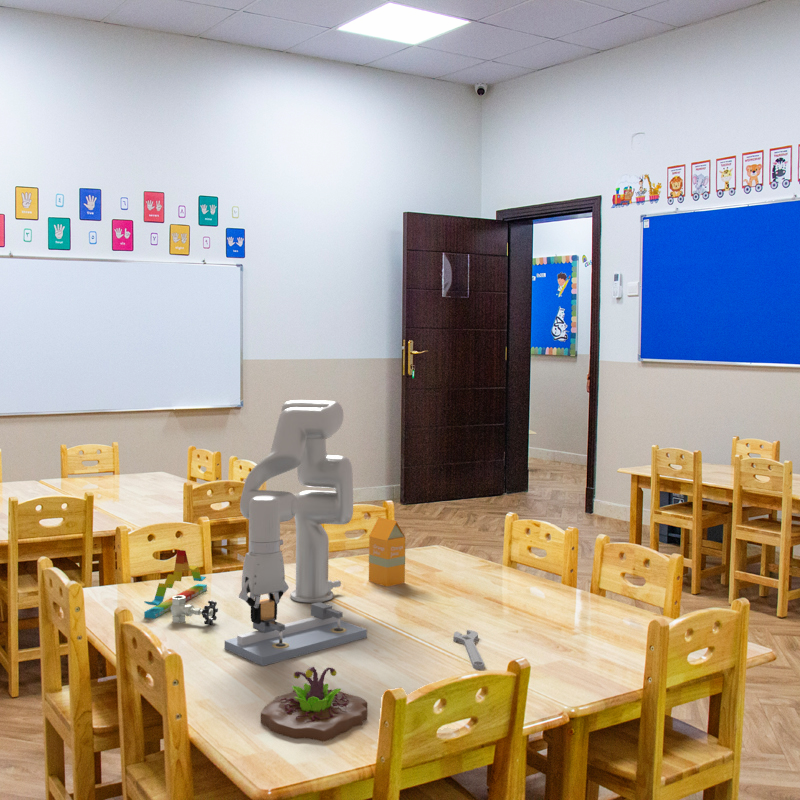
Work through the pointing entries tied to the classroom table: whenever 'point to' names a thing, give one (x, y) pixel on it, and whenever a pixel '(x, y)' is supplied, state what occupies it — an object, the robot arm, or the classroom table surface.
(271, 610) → the divider leg
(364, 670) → the classroom table surface
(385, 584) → the orange juice
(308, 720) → the plant
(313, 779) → the classroom table surface
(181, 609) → the valve
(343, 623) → the bolt hole plate
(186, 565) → the chart
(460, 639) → the adjustable wrench
